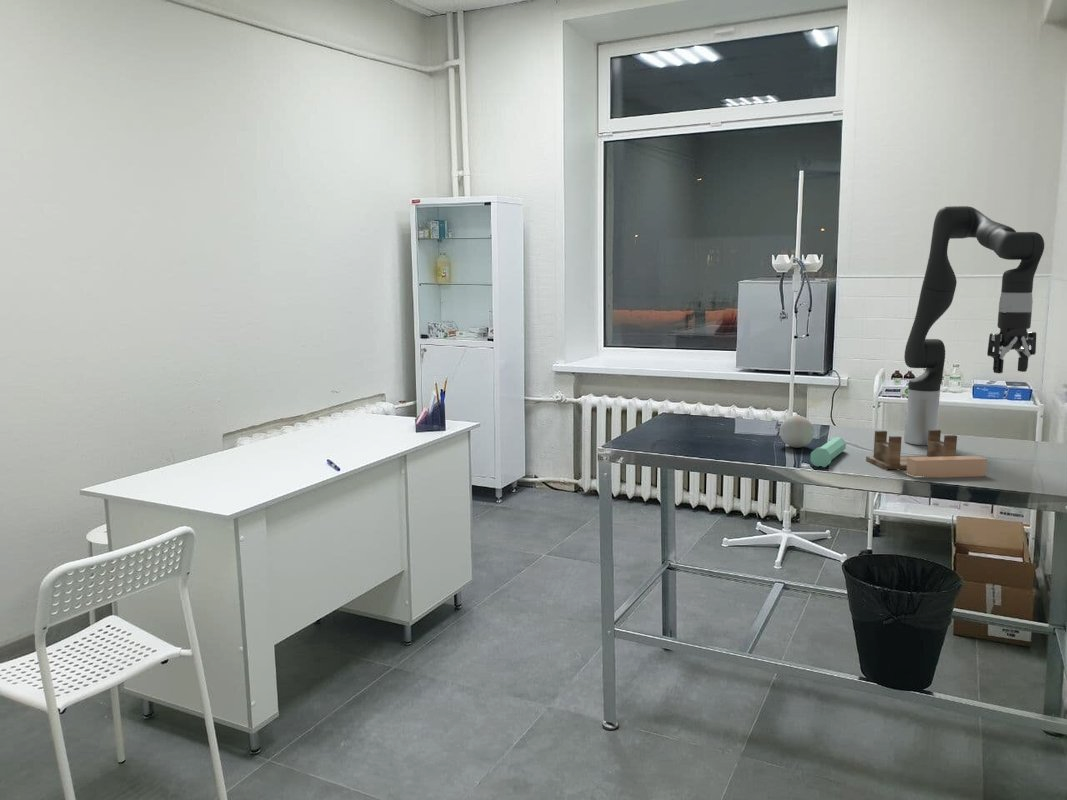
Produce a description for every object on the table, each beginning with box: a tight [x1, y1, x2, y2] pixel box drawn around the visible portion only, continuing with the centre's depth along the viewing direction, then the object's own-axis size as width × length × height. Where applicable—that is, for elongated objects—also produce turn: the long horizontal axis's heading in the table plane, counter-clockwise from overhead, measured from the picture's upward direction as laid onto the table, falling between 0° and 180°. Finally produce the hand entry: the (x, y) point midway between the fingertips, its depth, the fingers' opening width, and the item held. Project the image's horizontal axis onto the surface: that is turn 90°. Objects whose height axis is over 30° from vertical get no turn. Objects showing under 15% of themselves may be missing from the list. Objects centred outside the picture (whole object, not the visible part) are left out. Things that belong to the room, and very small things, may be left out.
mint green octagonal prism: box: [809, 436, 847, 468], centre depth 246 cm, size 6×6×25 cm
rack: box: [865, 429, 958, 471], centre depth 237 cm, size 12×22×9 cm, turn 94°
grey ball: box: [779, 415, 815, 449], centre depth 261 cm, size 10×10×10 cm
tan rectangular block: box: [905, 455, 988, 478], centre depth 225 cm, size 4×20×5 cm, turn 96°
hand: (1010, 372), depth 220 cm, fingers open, 8 cm apart
